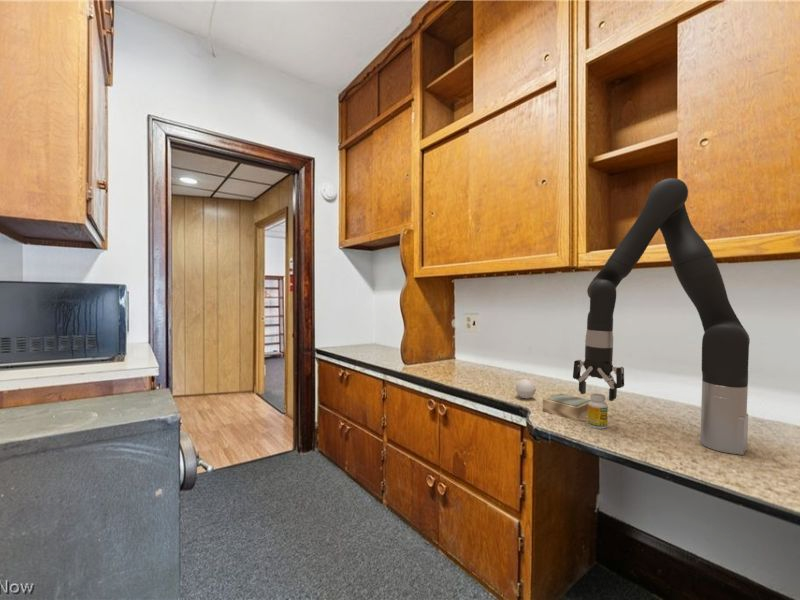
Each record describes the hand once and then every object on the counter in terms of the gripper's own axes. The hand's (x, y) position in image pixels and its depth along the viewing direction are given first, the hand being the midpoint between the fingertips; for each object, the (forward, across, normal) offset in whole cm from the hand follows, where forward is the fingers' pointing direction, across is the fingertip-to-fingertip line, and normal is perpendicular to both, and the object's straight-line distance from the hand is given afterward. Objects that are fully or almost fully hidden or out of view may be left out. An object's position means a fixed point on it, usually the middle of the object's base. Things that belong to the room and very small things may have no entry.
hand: (596, 396), depth 117 cm
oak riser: (+9, +12, -6) cm, 16 cm away
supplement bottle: (+9, -1, 0) cm, 9 cm away
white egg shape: (+10, +30, -9) cm, 33 cm away
